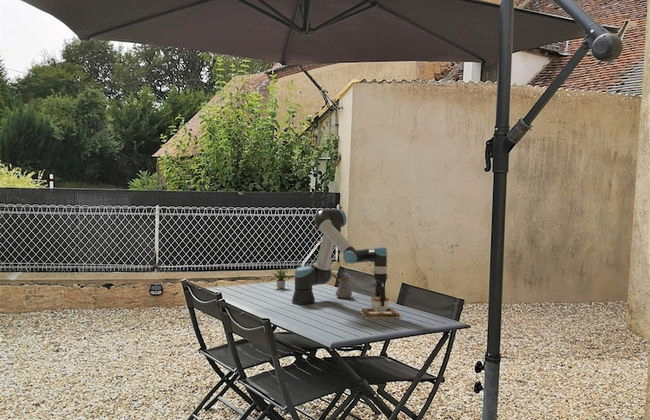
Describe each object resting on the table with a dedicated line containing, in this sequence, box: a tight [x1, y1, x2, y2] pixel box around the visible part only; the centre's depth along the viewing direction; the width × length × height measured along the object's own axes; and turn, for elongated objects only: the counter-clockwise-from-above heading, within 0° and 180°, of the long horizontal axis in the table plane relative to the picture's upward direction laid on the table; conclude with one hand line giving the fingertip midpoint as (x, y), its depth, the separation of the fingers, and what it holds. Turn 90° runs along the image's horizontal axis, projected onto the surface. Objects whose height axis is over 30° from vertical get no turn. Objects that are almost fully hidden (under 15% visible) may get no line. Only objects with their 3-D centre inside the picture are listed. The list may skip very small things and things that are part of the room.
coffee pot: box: [332, 273, 353, 299], centre depth 405 cm, size 21×12×15 cm, turn 33°
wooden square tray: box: [358, 307, 403, 320], centre depth 347 cm, size 22×22×2 cm
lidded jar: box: [370, 296, 390, 312], centre depth 347 cm, size 11×11×9 cm
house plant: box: [271, 267, 289, 289], centre depth 438 cm, size 14×14×16 cm
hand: (380, 309), depth 347 cm, fingers closed on lidded jar, 11 cm apart
